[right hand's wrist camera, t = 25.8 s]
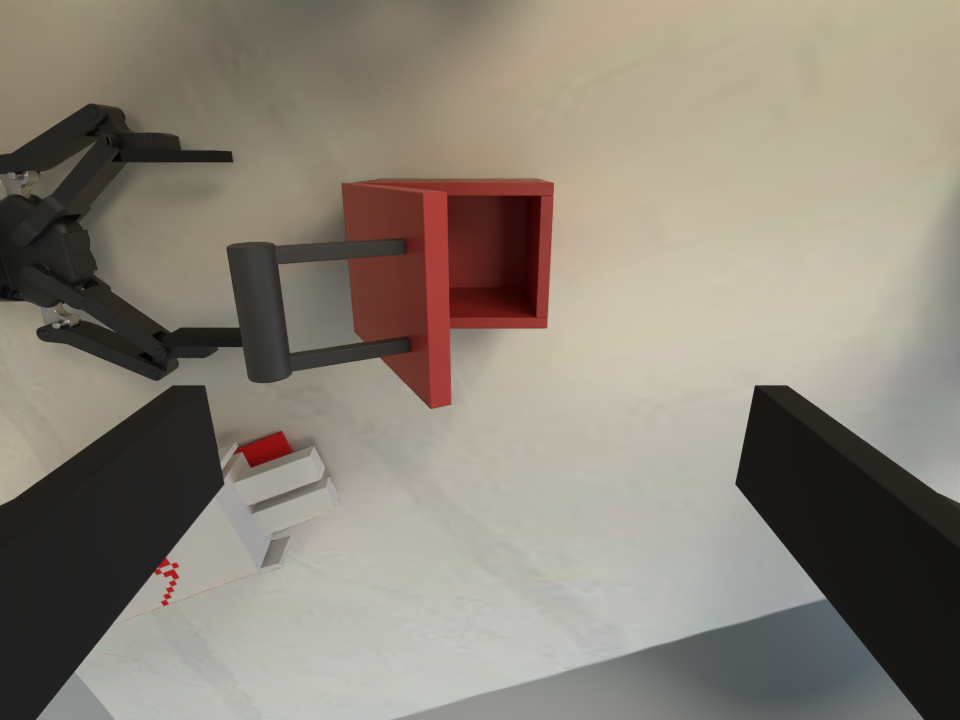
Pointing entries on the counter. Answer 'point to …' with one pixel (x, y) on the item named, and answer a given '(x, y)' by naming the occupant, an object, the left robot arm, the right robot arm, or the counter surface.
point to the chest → (495, 249)
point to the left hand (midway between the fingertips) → (239, 252)
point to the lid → (361, 291)
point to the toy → (241, 522)
